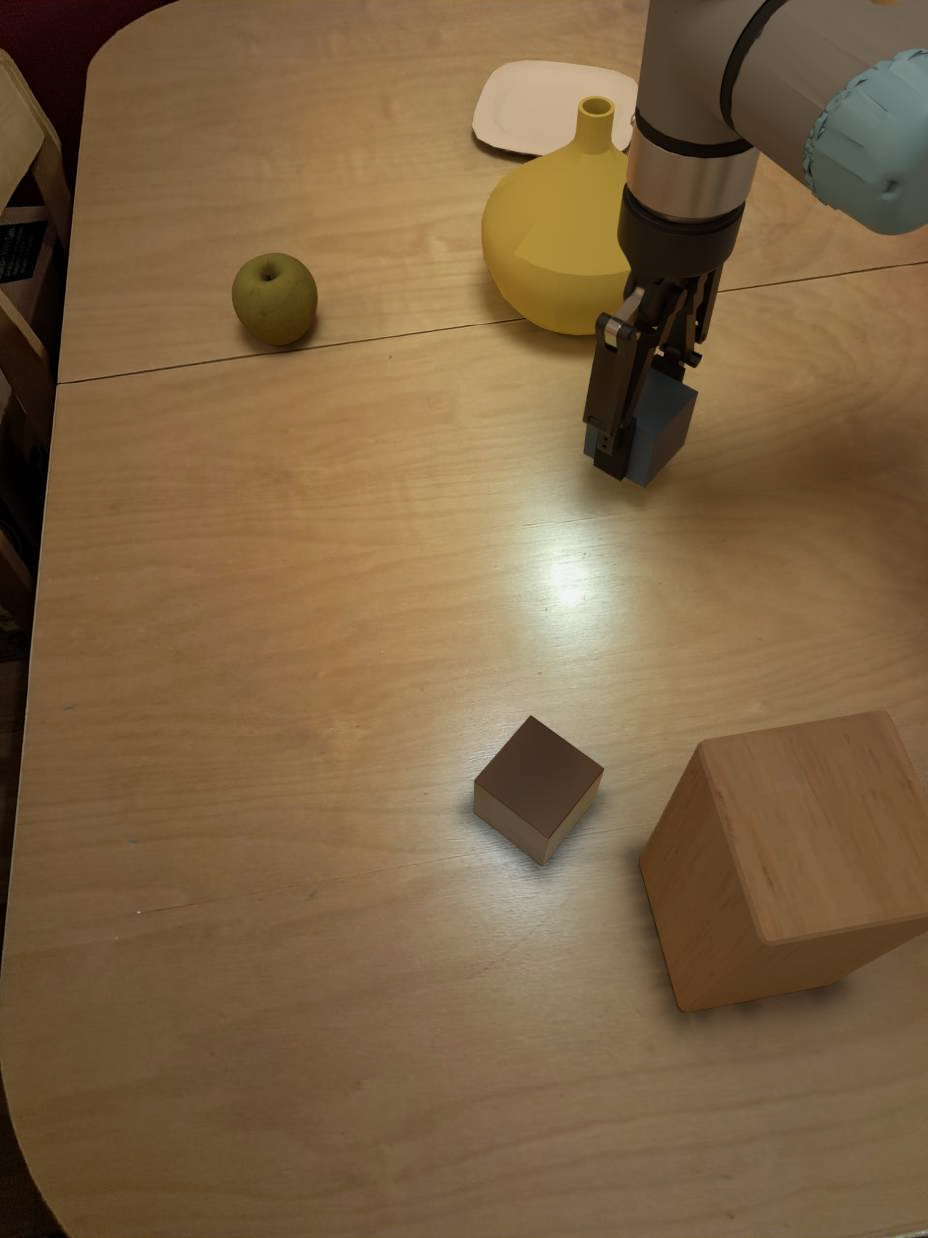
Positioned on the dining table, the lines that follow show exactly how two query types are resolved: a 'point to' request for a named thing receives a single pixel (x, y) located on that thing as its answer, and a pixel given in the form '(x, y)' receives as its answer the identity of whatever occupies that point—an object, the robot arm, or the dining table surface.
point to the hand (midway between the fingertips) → (632, 445)
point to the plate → (548, 105)
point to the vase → (562, 229)
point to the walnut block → (536, 789)
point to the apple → (275, 298)
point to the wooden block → (788, 859)
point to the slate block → (655, 426)
